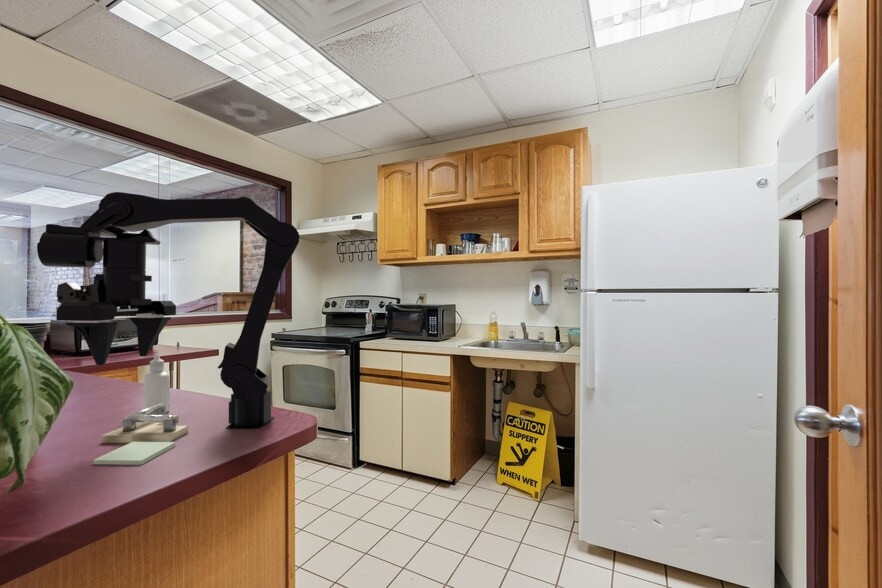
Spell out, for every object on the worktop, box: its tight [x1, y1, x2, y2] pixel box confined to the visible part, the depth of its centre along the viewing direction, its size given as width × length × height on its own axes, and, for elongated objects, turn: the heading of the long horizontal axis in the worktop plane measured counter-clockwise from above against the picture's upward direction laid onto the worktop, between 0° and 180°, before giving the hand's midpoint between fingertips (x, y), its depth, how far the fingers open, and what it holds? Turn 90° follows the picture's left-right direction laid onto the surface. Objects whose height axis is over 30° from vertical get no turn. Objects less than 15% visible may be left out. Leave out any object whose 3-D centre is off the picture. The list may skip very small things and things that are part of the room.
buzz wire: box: [101, 404, 189, 444], centre depth 69 cm, size 11×11×4 cm
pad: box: [93, 441, 176, 466], centre depth 59 cm, size 7×7×1 cm
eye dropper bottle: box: [143, 353, 171, 415], centre depth 81 cm, size 4×6×12 cm
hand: (123, 360), depth 66 cm, fingers open, 9 cm apart
